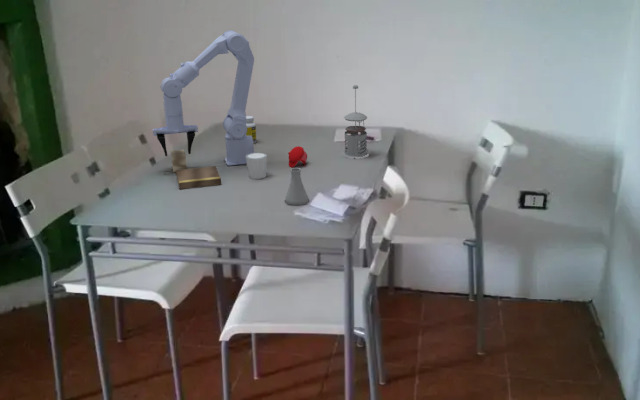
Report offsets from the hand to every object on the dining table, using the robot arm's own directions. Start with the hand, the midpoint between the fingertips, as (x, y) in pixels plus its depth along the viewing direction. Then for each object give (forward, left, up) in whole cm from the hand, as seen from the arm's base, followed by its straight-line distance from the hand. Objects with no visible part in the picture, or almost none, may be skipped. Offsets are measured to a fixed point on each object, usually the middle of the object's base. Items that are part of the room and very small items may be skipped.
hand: (177, 154), depth 224 cm
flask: (-31, +41, -6) cm, 52 cm away
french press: (-62, +4, -6) cm, 62 cm away
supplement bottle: (-28, -24, -6) cm, 37 cm away
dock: (-5, +13, -5) cm, 15 cm away
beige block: (0, 0, -6) cm, 6 cm away
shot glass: (-24, +15, -6) cm, 29 cm away
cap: (-39, +8, -6) cm, 40 cm away
